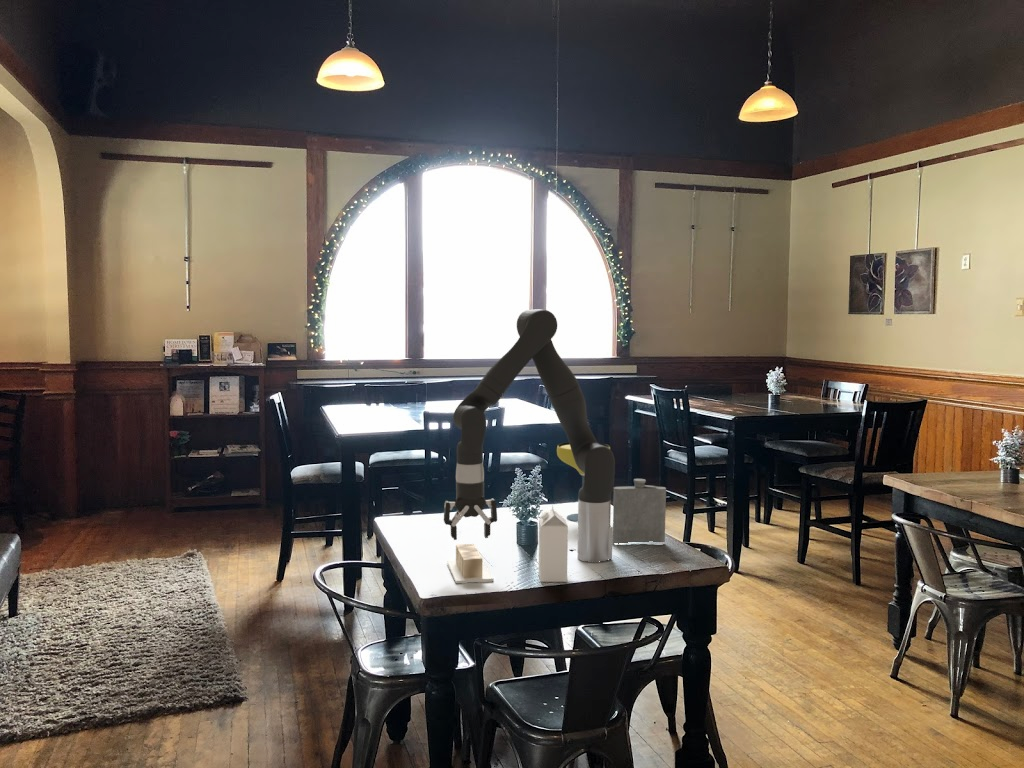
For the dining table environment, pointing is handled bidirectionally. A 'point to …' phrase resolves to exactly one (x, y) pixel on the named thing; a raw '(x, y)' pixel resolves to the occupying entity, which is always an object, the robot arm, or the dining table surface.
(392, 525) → the dining table surface
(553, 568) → the milk carton
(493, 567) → the dining table surface
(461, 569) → the birch block
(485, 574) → the white board
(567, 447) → the cocktail glass
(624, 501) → the hip flask
